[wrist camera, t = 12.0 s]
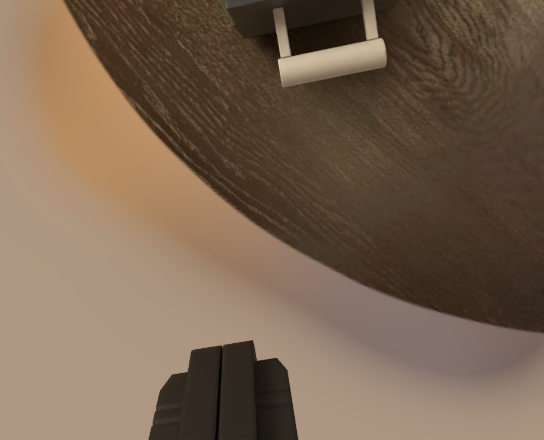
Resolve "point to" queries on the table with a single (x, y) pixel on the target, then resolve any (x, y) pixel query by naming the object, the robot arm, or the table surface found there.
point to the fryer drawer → (306, 11)
